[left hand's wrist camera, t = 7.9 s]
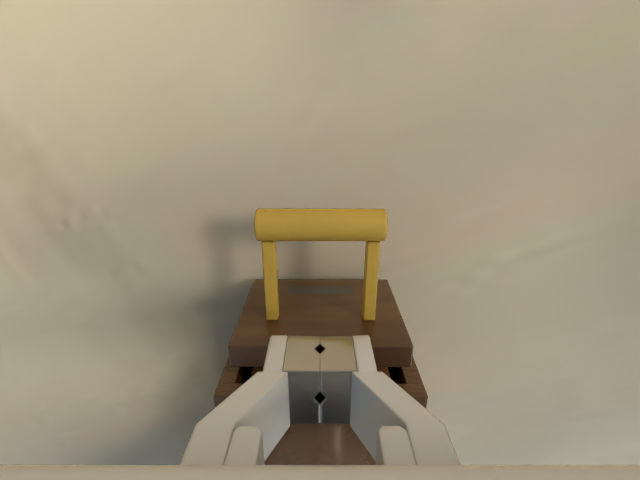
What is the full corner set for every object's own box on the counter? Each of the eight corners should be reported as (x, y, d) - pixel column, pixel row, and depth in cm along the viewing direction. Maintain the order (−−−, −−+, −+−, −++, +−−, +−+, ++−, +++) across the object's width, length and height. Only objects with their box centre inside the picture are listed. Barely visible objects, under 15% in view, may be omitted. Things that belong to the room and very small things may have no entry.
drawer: (247, 189, 20) (213, 224, 13) (394, 189, 20) (427, 224, 13) (265, 435, 26) (248, 535, 20) (375, 436, 26) (392, 535, 20)
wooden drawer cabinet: (249, 299, 23) (213, 396, 15) (391, 299, 23) (428, 396, 15) (262, 453, 28) (239, 585, 20) (378, 454, 28) (401, 586, 20)
